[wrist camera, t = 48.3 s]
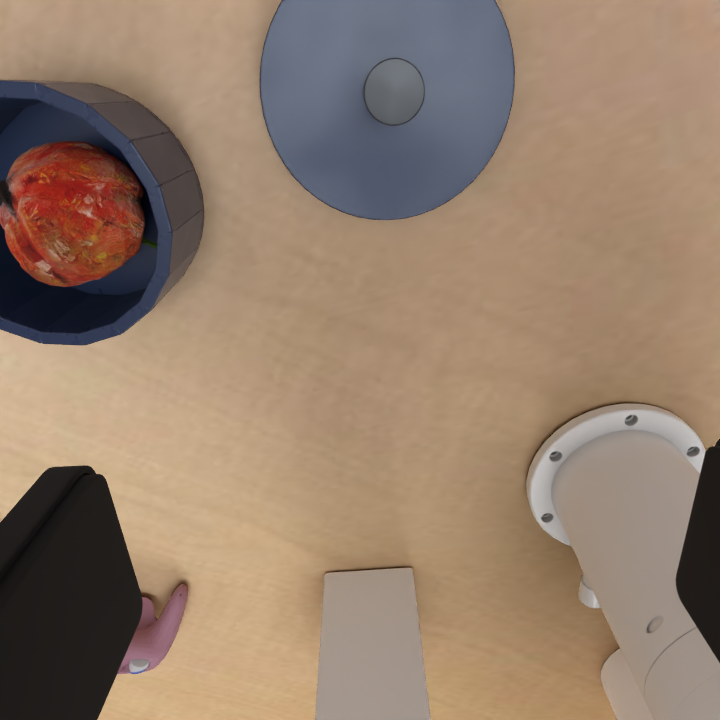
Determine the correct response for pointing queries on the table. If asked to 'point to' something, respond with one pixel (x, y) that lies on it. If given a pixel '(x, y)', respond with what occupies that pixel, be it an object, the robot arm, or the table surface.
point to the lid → (386, 99)
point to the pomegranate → (71, 213)
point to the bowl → (159, 203)
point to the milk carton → (371, 648)
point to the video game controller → (154, 634)
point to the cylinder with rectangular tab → (623, 689)
